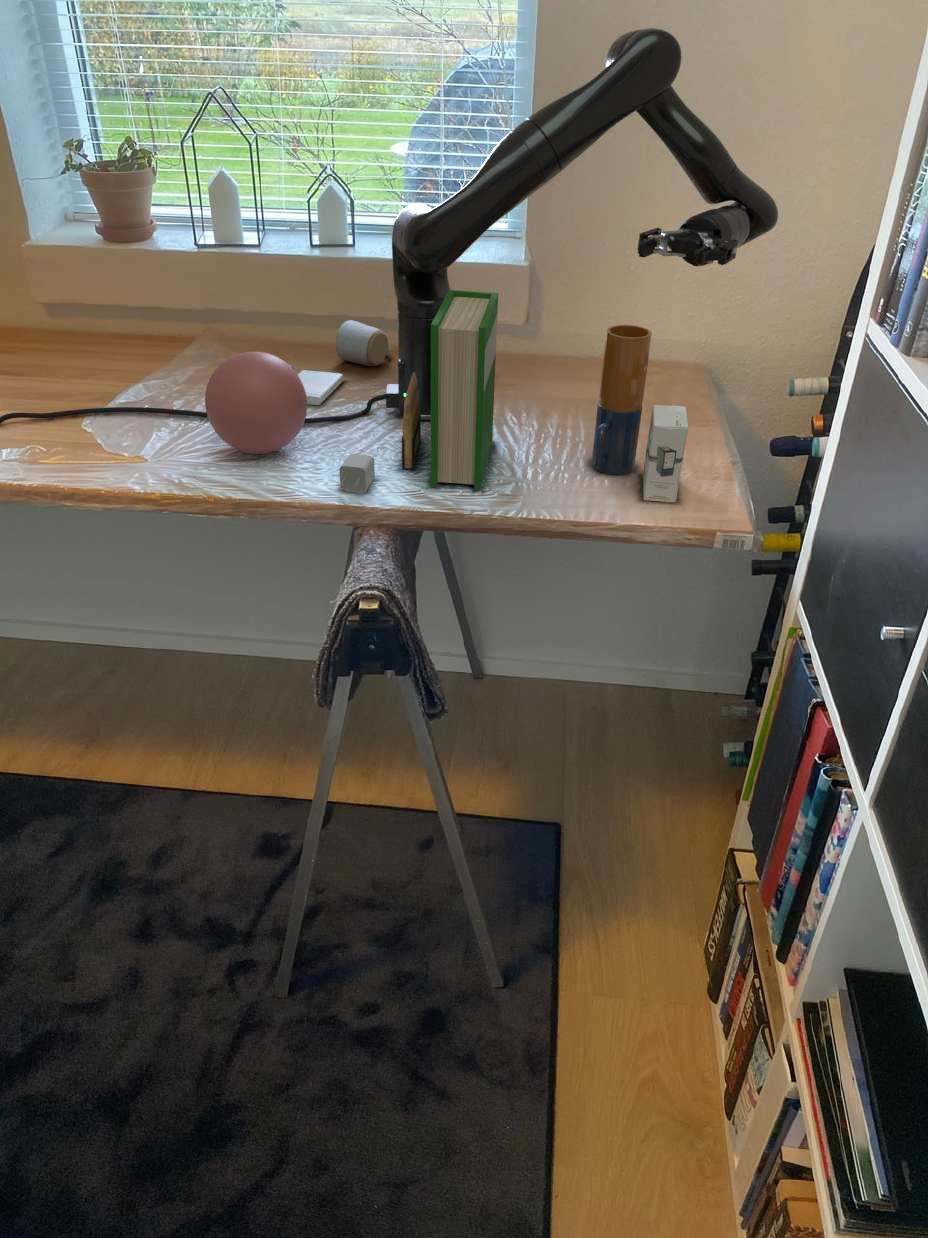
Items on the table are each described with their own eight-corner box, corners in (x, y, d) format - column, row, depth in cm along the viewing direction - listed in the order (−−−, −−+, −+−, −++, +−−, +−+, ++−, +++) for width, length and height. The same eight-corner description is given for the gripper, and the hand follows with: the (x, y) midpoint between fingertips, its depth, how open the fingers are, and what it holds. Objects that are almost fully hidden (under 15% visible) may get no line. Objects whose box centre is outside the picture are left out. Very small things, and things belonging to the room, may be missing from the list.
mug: (603, 453, 150) (610, 393, 144) (641, 463, 147) (649, 402, 141) (575, 474, 143) (581, 412, 138) (614, 485, 140) (621, 422, 135)
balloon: (340, 429, 156) (335, 337, 147) (280, 476, 140) (270, 377, 132) (259, 415, 160) (250, 325, 152) (192, 460, 145) (177, 362, 136)
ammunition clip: (414, 470, 143) (413, 395, 137) (402, 469, 143) (400, 394, 137) (420, 442, 152) (420, 370, 145) (409, 442, 152) (408, 370, 146)
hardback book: (480, 491, 138) (485, 327, 125) (430, 487, 139) (430, 324, 125) (492, 443, 152) (498, 292, 139) (447, 440, 153) (449, 289, 140)
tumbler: (602, 412, 138) (610, 337, 132) (596, 396, 143) (603, 324, 137) (645, 412, 138) (655, 338, 132) (637, 396, 143) (647, 324, 137)
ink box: (641, 475, 143) (652, 402, 137) (674, 478, 143) (686, 404, 136) (642, 500, 136) (653, 424, 130) (676, 503, 136) (689, 427, 129)
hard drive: (301, 369, 175) (275, 391, 165) (343, 373, 174) (319, 396, 164) (302, 378, 176) (276, 400, 166) (343, 382, 175) (320, 405, 165)
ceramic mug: (369, 372, 179) (368, 331, 175) (335, 364, 183) (333, 324, 178) (400, 358, 187) (400, 319, 183) (367, 350, 190) (366, 312, 186)
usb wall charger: (375, 480, 140) (374, 456, 138) (361, 501, 134) (360, 475, 132) (349, 477, 141) (348, 453, 138) (335, 498, 135) (333, 472, 133)
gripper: (671, 204, 150) (627, 220, 138) (757, 216, 143) (719, 234, 132) (664, 253, 154) (621, 272, 143) (748, 267, 148) (710, 288, 136)
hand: (668, 254), depth 137 cm, fingers open, 8 cm apart
